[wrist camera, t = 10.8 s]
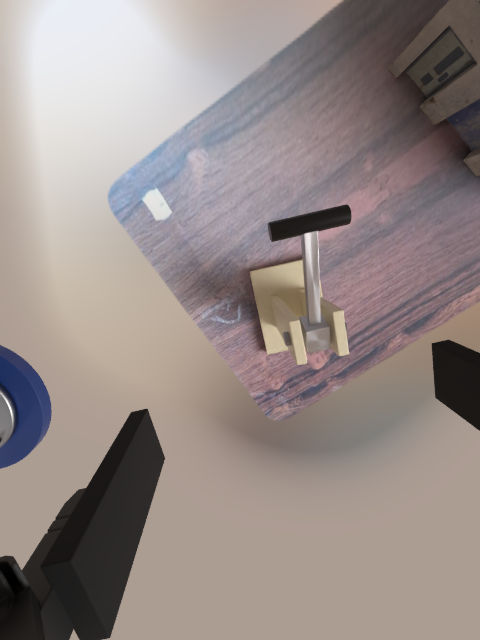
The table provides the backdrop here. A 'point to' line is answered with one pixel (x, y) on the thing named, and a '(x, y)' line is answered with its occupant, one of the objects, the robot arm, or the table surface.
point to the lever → (311, 266)
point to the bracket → (291, 311)
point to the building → (449, 71)
